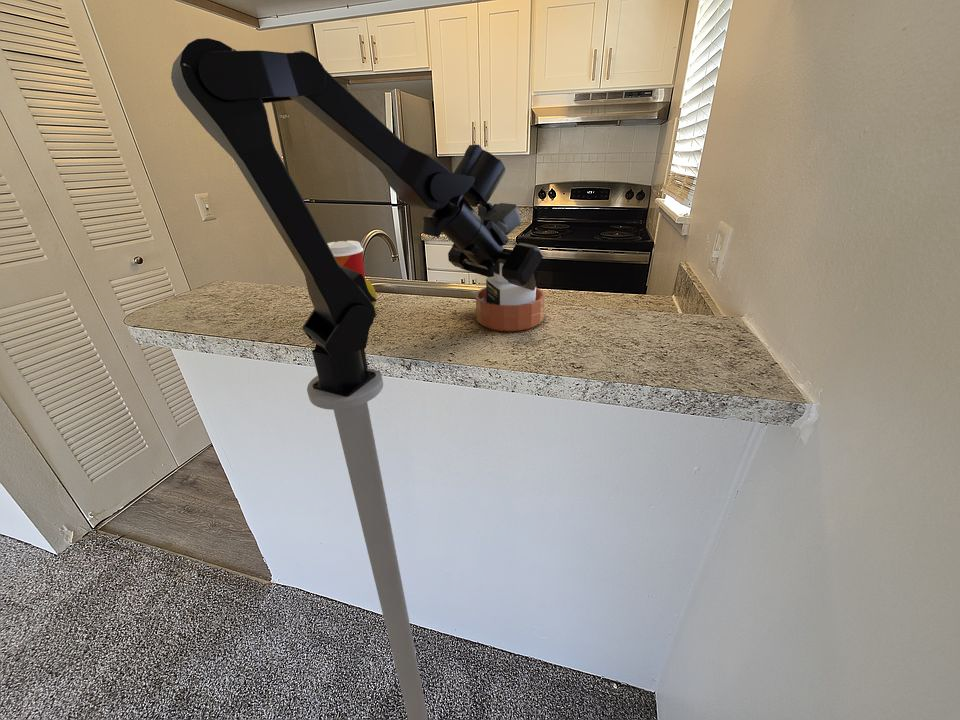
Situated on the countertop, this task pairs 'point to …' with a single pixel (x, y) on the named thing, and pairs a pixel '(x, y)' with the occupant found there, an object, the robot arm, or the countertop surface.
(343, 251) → the paper cup
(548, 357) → the countertop surface
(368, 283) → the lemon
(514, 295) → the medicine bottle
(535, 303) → the bowl
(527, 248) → the robot arm
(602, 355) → the countertop surface
